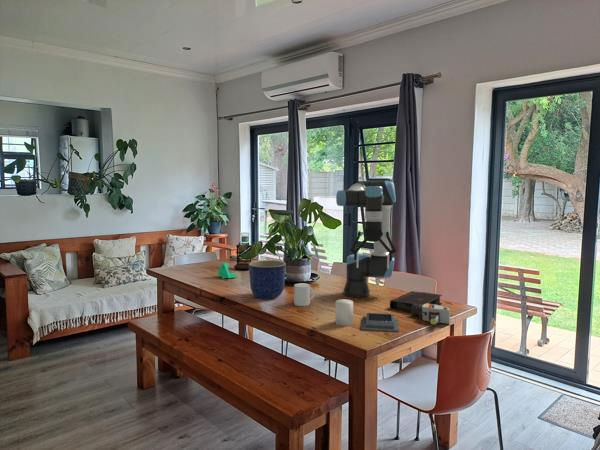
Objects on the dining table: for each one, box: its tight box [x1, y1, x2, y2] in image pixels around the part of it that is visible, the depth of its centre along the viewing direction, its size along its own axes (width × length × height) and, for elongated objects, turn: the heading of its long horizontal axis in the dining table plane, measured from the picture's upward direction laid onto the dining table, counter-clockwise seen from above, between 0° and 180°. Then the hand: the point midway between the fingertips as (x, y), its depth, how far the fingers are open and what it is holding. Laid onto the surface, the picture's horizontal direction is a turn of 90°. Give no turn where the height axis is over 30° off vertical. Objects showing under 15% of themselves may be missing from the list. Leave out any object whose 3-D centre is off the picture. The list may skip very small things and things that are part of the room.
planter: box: [248, 259, 287, 300], centre depth 245 cm, size 21×21×19 cm
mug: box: [293, 282, 316, 307], centre depth 232 cm, size 8×10×12 cm
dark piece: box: [233, 242, 252, 271], centre depth 325 cm, size 15×15×20 cm
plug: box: [335, 298, 354, 327], centre depth 199 cm, size 8×8×10 cm
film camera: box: [410, 303, 451, 325], centre depth 202 cm, size 7×19×15 cm
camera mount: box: [217, 262, 238, 279], centre depth 296 cm, size 12×8×10 cm, turn 45°
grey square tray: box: [360, 312, 400, 333], centre depth 197 cm, size 16×16×4 cm
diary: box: [389, 290, 443, 313], centre depth 227 cm, size 19×25×5 cm
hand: (372, 267), depth 198 cm, fingers open, 13 cm apart
